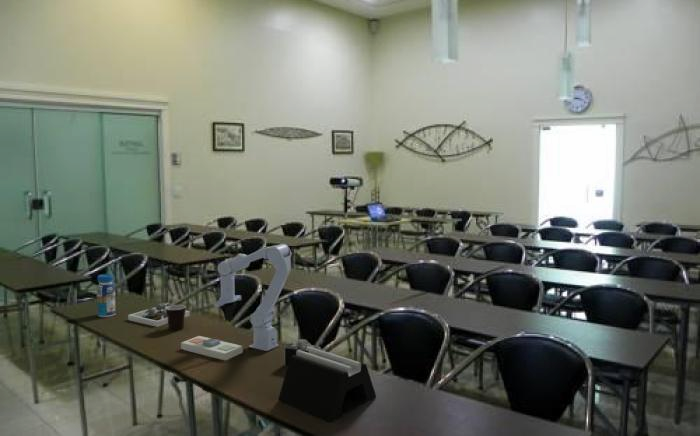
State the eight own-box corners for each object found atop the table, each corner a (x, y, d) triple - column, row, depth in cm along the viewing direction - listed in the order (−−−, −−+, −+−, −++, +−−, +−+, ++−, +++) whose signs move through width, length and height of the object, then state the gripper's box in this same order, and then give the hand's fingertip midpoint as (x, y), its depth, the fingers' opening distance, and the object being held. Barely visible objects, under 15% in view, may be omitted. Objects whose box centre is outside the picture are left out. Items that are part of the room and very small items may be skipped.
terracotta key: (205, 344, 227) (205, 339, 227) (197, 347, 223) (197, 343, 223) (197, 342, 229) (197, 337, 229) (188, 345, 225) (188, 341, 225)
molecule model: (149, 333, 266) (155, 324, 259) (137, 318, 267) (143, 309, 259) (173, 316, 277) (180, 307, 270) (162, 302, 278) (168, 293, 270)
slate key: (220, 345, 223) (220, 340, 223) (211, 348, 219) (211, 343, 218) (211, 342, 225) (211, 338, 225) (202, 346, 221) (202, 341, 221)
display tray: (189, 316, 270) (189, 311, 270) (157, 326, 253) (156, 321, 253) (161, 310, 280) (161, 305, 280) (128, 320, 263) (128, 315, 262)
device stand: (325, 380, 194) (325, 339, 193) (375, 399, 180) (376, 354, 178) (278, 402, 177) (278, 357, 176) (330, 424, 163) (330, 375, 161)
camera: (325, 365, 208) (325, 339, 207) (319, 371, 202) (319, 345, 201) (290, 360, 213) (290, 335, 212) (282, 366, 207) (282, 340, 205)
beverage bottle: (97, 313, 273) (95, 274, 271) (115, 311, 276) (114, 272, 274) (97, 318, 265) (95, 277, 263) (116, 316, 269) (114, 276, 267)
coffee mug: (182, 331, 246) (182, 310, 245) (163, 331, 246) (163, 309, 245) (190, 324, 257) (190, 303, 256) (172, 323, 258) (171, 303, 256)
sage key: (235, 351, 219) (235, 346, 219) (226, 355, 215) (226, 350, 215) (226, 349, 221) (226, 344, 221) (217, 352, 217) (217, 348, 217)
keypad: (242, 352, 220) (242, 345, 220) (225, 360, 212) (225, 353, 212) (199, 342, 232) (199, 335, 232) (181, 349, 224) (181, 342, 224)
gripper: (232, 284, 239) (232, 314, 241) (208, 291, 227) (208, 323, 228) (244, 286, 236) (245, 317, 237) (220, 293, 223) (221, 325, 225)
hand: (228, 320), depth 232 cm, fingers closed
